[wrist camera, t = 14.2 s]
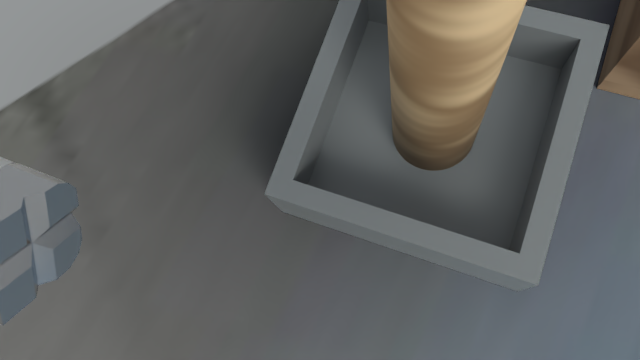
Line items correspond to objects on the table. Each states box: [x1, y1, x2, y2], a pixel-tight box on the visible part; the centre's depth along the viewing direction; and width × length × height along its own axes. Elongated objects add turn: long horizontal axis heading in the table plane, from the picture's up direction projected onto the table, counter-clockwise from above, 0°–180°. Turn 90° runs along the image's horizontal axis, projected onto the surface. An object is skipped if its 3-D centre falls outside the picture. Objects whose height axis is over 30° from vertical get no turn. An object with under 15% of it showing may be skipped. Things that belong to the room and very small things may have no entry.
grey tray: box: [264, 0, 610, 292], centre depth 27 cm, size 12×12×4 cm
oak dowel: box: [386, 0, 527, 171], centre depth 20 cm, size 4×4×16 cm
